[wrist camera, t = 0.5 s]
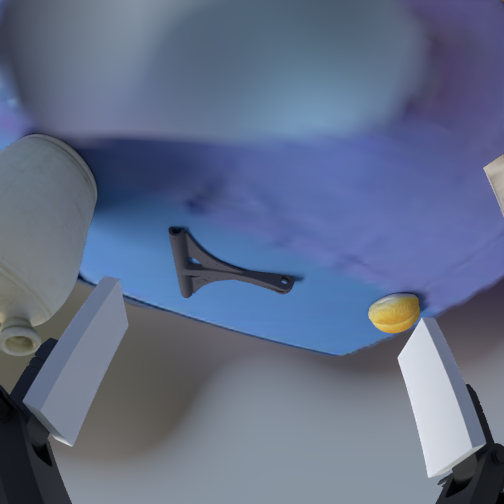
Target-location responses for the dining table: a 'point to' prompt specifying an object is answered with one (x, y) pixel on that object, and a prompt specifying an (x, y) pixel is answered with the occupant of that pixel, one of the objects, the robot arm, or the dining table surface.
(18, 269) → the jug
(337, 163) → the dining table surface
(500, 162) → the stand
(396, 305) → the bread roll
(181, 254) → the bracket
